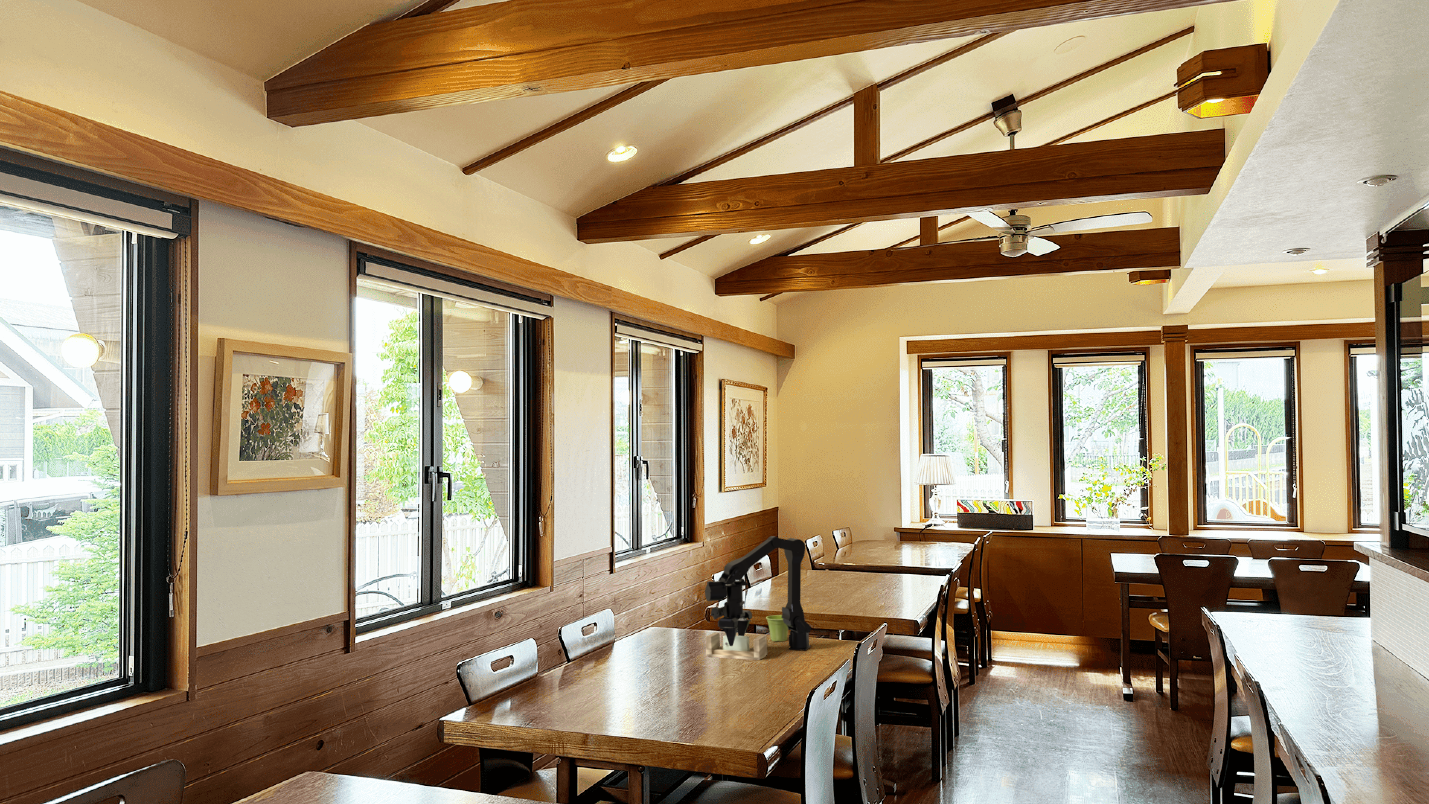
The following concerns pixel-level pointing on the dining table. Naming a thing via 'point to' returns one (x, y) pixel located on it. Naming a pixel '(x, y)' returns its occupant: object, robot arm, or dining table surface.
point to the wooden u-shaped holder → (717, 651)
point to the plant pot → (777, 628)
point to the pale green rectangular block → (737, 643)
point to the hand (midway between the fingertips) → (736, 643)
